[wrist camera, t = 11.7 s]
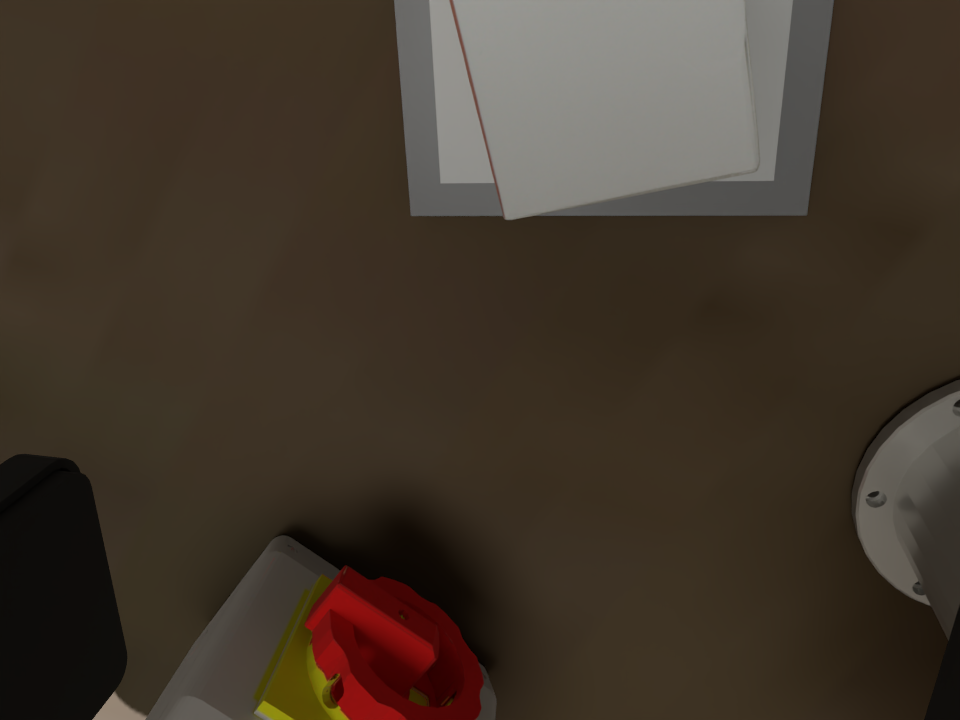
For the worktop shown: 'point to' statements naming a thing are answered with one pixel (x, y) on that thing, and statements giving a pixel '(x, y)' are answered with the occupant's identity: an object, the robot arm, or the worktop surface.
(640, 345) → the worktop surface
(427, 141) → the case
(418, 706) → the electrical switch box
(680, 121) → the small box
